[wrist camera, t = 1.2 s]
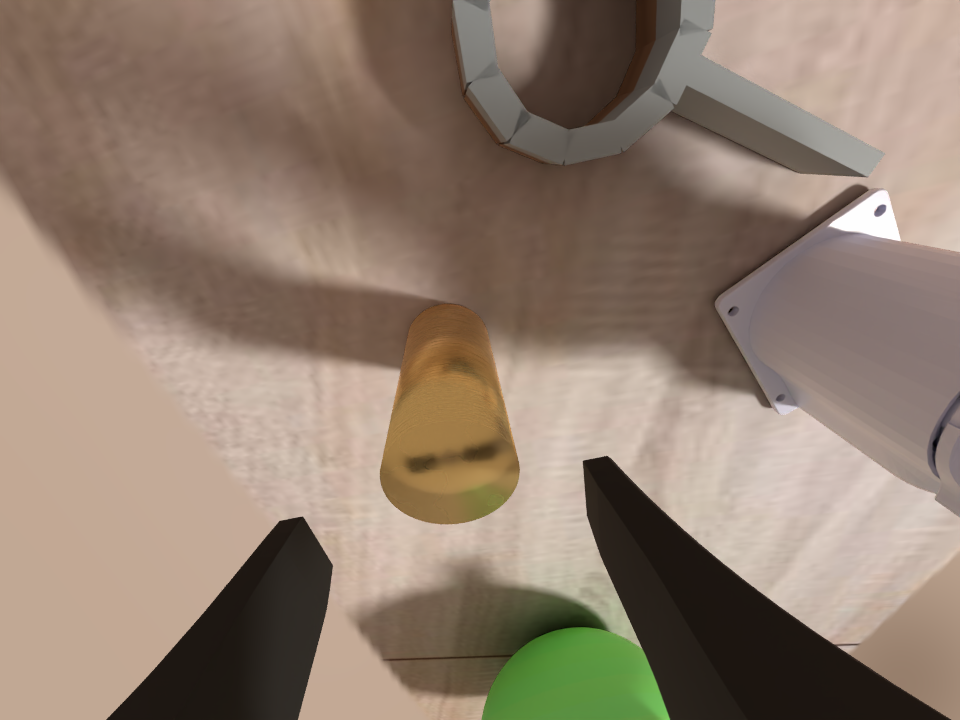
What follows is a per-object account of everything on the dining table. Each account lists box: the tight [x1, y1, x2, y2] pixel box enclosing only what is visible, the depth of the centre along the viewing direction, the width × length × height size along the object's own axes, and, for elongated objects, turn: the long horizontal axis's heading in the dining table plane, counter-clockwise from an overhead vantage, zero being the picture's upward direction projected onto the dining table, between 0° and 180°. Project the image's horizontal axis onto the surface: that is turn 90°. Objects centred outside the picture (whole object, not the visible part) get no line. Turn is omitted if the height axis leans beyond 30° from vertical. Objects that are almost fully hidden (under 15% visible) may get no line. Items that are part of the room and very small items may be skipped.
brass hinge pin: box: [380, 304, 520, 524], centre depth 15 cm, size 4×4×9 cm
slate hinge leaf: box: [452, 0, 885, 177], centre depth 13 cm, size 14×10×3 cm
